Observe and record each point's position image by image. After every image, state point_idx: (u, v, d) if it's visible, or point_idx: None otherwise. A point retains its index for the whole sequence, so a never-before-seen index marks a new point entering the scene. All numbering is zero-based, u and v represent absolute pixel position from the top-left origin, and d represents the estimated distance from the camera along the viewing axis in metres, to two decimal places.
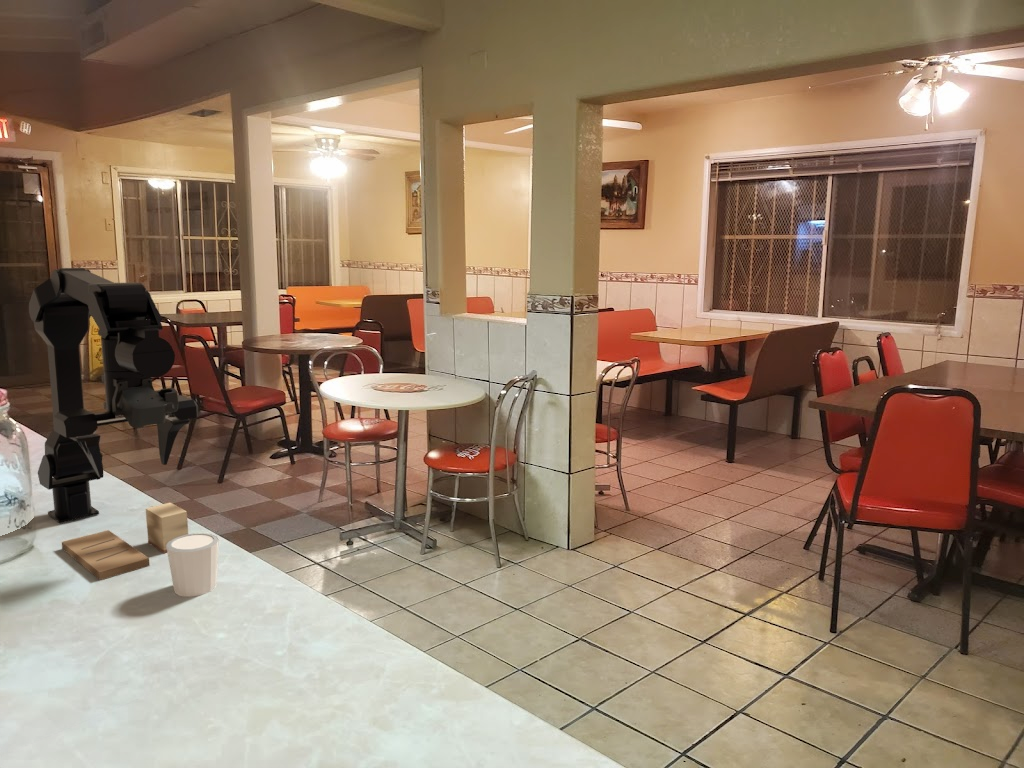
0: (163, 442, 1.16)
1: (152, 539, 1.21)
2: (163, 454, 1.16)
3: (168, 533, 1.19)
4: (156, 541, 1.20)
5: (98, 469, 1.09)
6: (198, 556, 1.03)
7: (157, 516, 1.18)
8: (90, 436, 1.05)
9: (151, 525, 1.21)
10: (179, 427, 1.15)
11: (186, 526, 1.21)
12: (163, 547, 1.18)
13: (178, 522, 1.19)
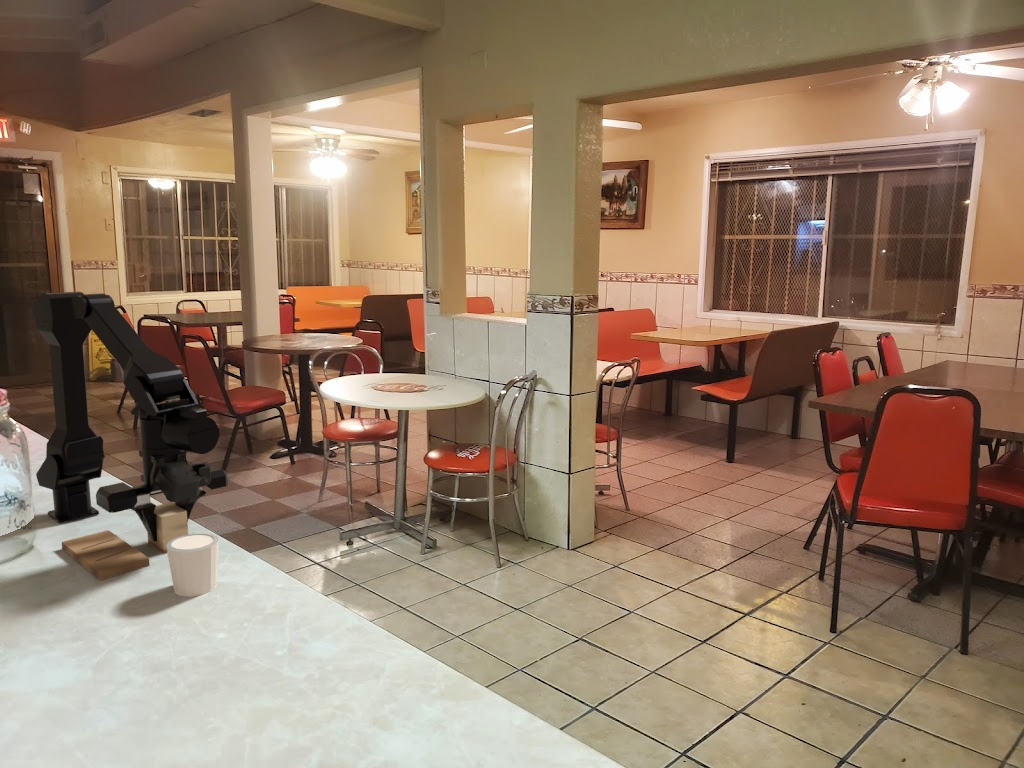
0: None
1: None
2: None
3: (168, 533, 1.19)
4: (156, 541, 1.20)
5: (152, 534, 1.19)
6: (198, 556, 1.03)
7: (157, 516, 1.18)
8: (147, 506, 1.16)
9: None
10: (195, 499, 1.22)
11: (186, 526, 1.21)
12: (163, 547, 1.18)
13: (178, 522, 1.19)
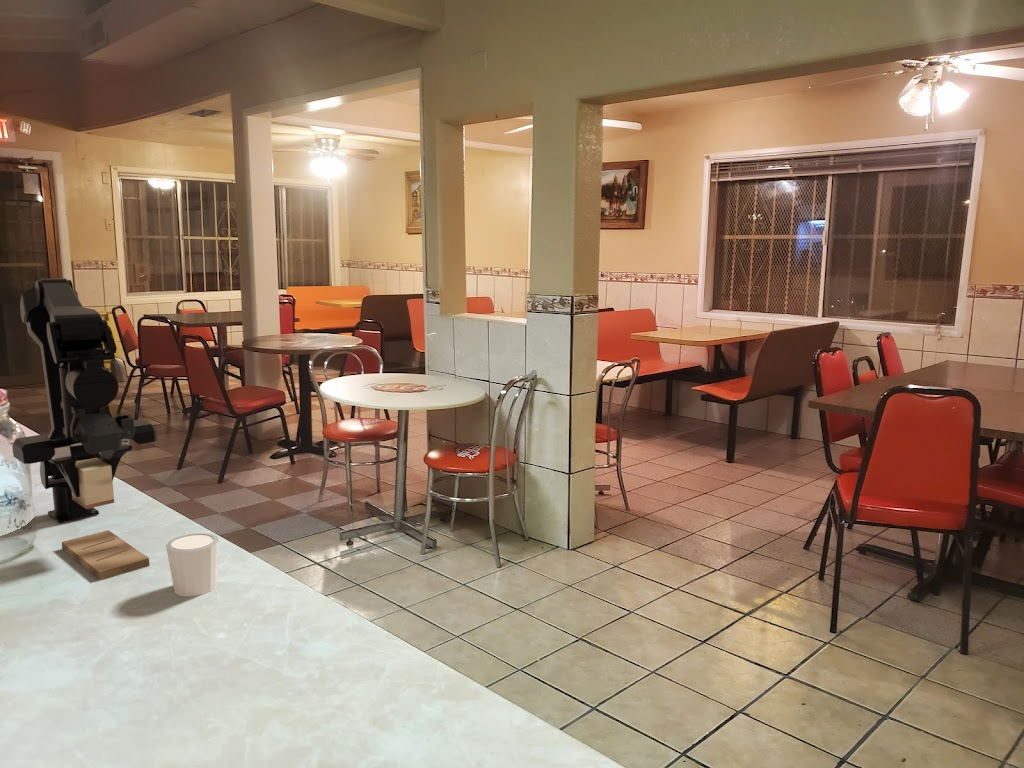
0: None
1: None
2: None
3: (91, 487, 1.14)
4: None
5: (74, 489, 1.14)
6: (198, 556, 1.03)
7: (79, 470, 1.14)
8: (66, 458, 1.11)
9: None
10: (121, 454, 1.17)
11: (111, 481, 1.16)
12: (85, 502, 1.14)
13: (101, 476, 1.15)
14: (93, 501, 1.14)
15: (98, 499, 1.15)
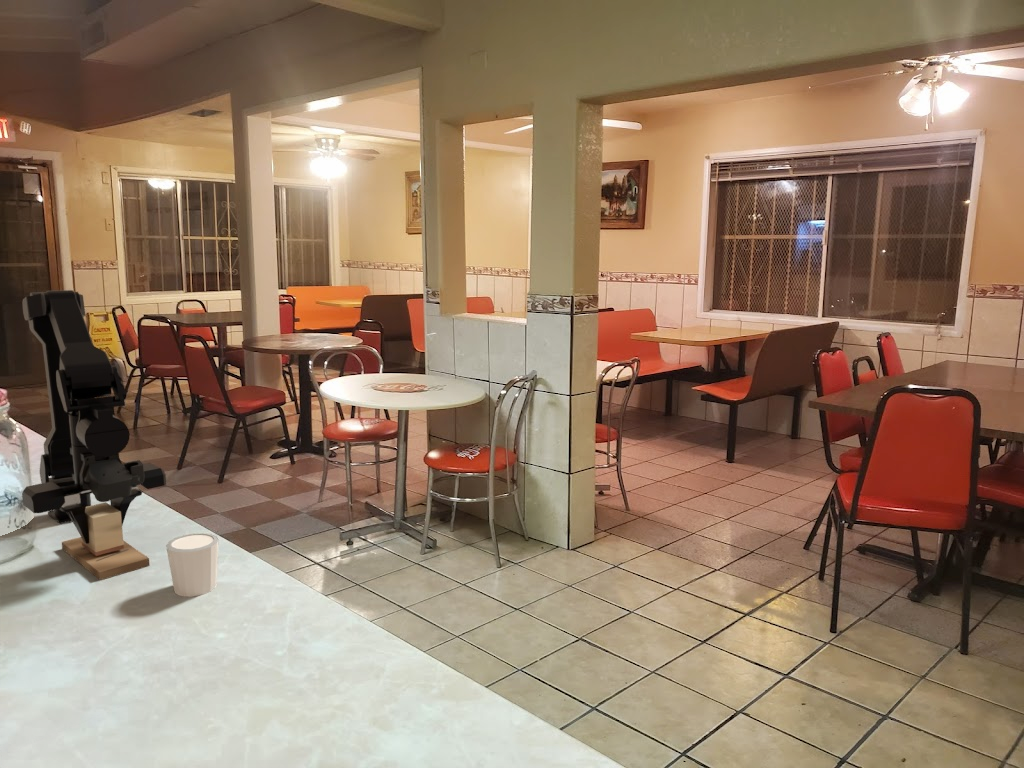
0: None
1: None
2: None
3: (101, 534, 1.13)
4: (88, 543, 1.15)
5: (84, 536, 1.14)
6: (198, 556, 1.03)
7: (89, 516, 1.13)
8: (76, 506, 1.11)
9: None
10: (131, 499, 1.17)
11: (120, 527, 1.15)
12: (95, 549, 1.13)
13: (111, 523, 1.14)
14: (103, 548, 1.14)
15: (108, 545, 1.14)
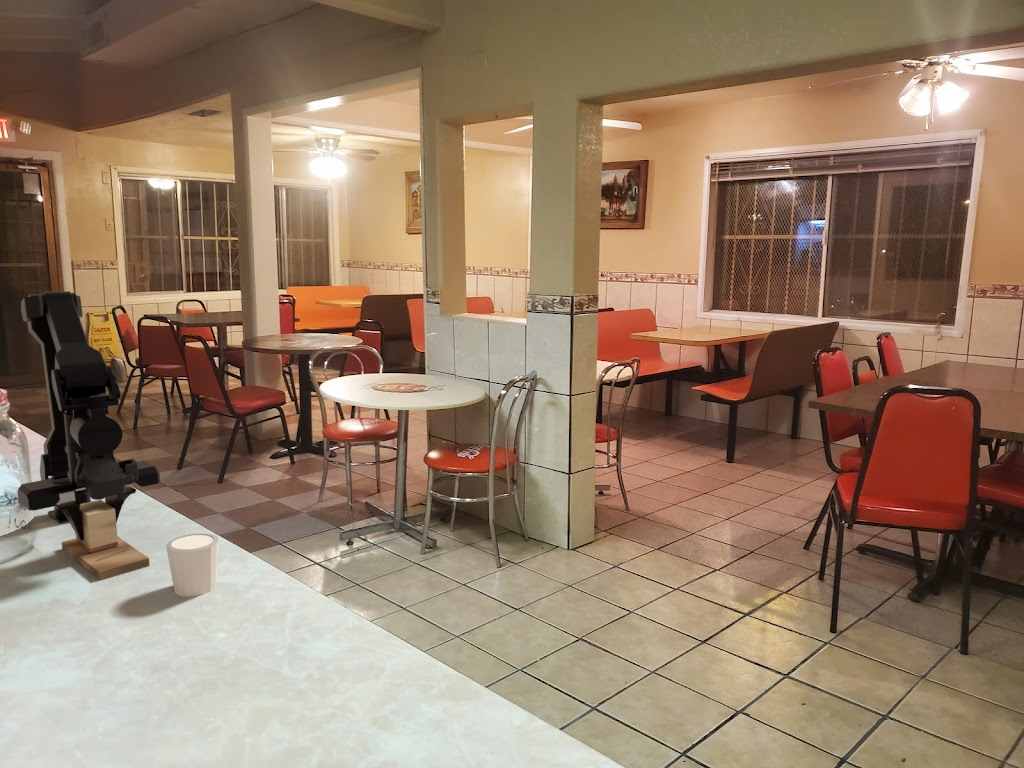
0: None
1: None
2: None
3: (95, 531, 1.15)
4: None
5: (79, 533, 1.15)
6: (198, 556, 1.03)
7: (83, 514, 1.15)
8: (71, 503, 1.12)
9: None
10: (125, 497, 1.18)
11: (114, 524, 1.17)
12: (89, 546, 1.15)
13: (105, 520, 1.16)
14: (97, 544, 1.15)
15: (102, 542, 1.16)
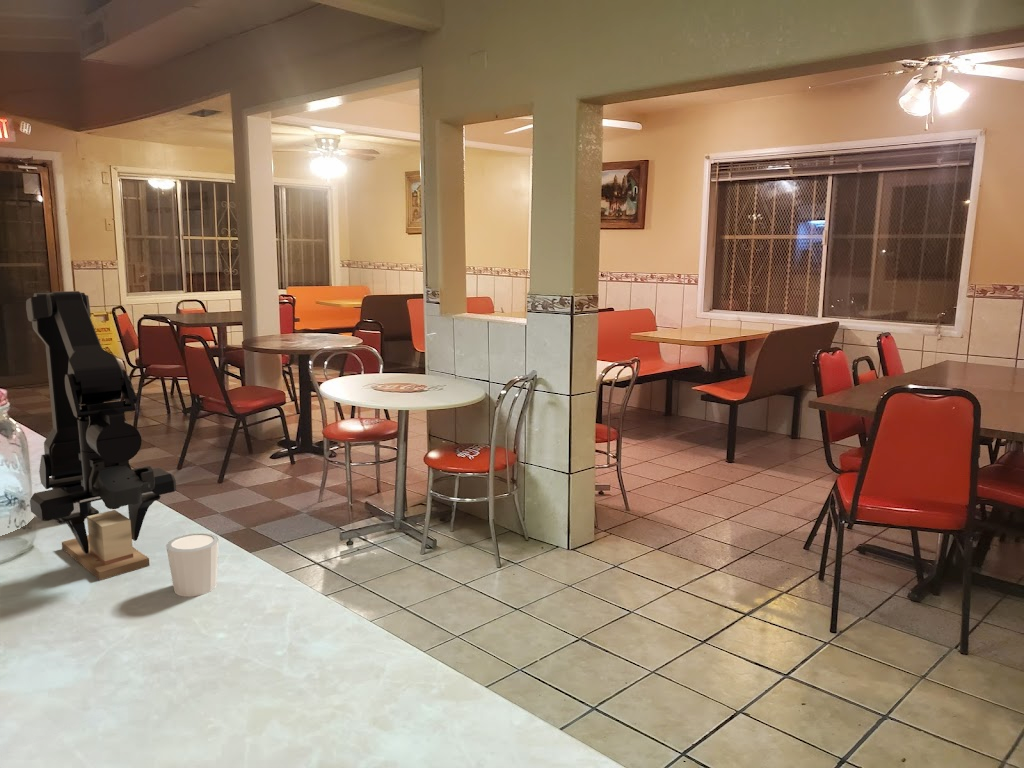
0: (133, 518, 1.16)
1: (93, 549, 1.14)
2: (133, 530, 1.16)
3: (110, 543, 1.11)
4: (97, 551, 1.12)
5: (83, 545, 1.11)
6: (198, 556, 1.03)
7: (98, 525, 1.11)
8: (75, 515, 1.07)
9: (92, 534, 1.13)
10: (149, 503, 1.15)
11: (130, 535, 1.13)
12: (104, 558, 1.11)
13: (120, 531, 1.12)
14: (112, 557, 1.12)
15: (117, 554, 1.12)
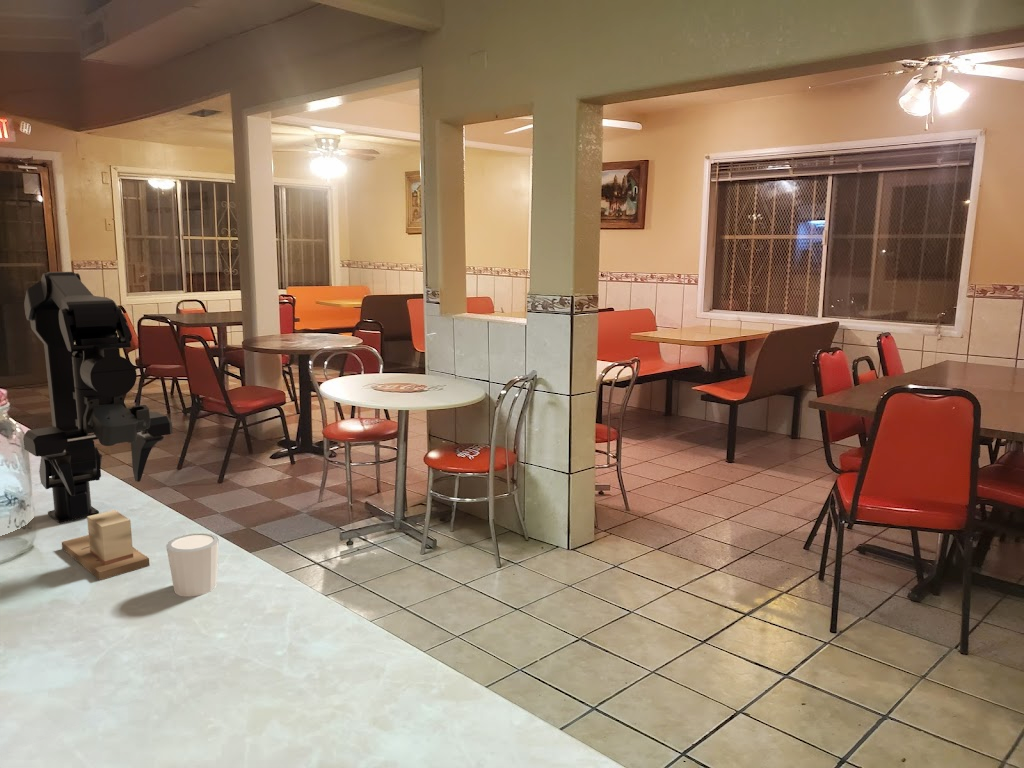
0: (136, 459, 1.15)
1: (93, 549, 1.14)
2: (136, 471, 1.15)
3: (110, 543, 1.11)
4: (97, 551, 1.12)
5: (69, 487, 1.08)
6: (198, 556, 1.03)
7: (98, 525, 1.11)
8: (60, 454, 1.05)
9: (92, 534, 1.13)
10: (152, 444, 1.15)
11: (130, 535, 1.13)
12: (104, 558, 1.11)
13: (120, 531, 1.12)
14: (112, 557, 1.12)
15: (117, 554, 1.12)
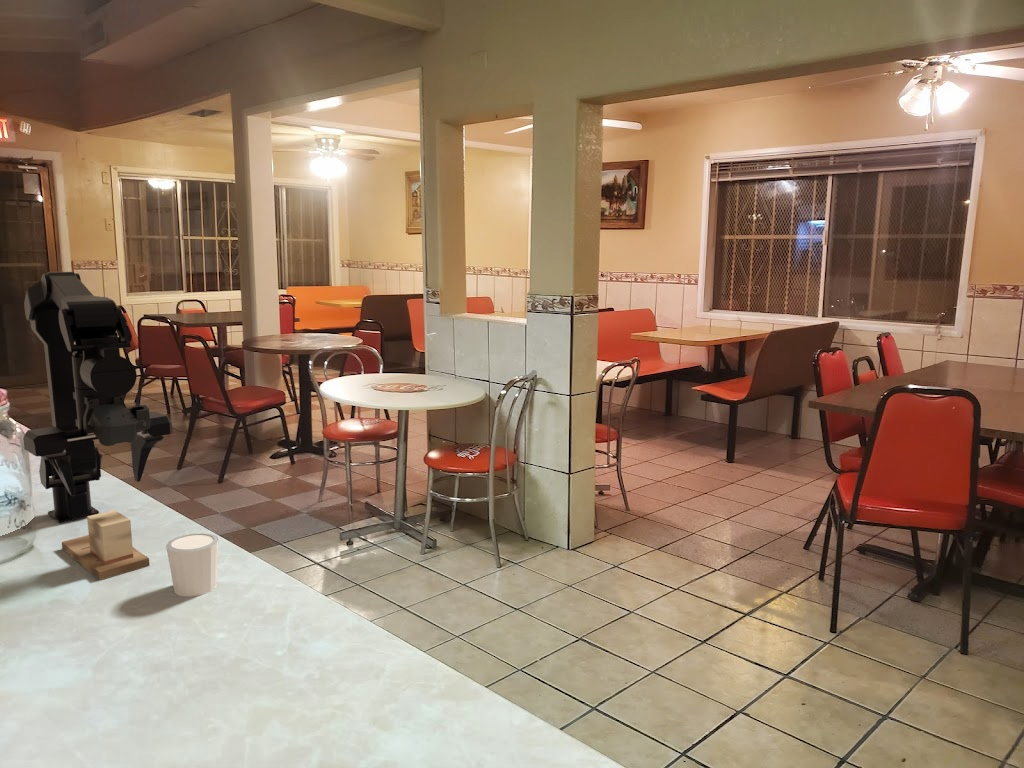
0: (136, 459, 1.15)
1: (93, 549, 1.14)
2: (136, 471, 1.15)
3: (110, 543, 1.11)
4: (97, 551, 1.12)
5: (69, 487, 1.08)
6: (198, 556, 1.03)
7: (98, 525, 1.11)
8: (60, 454, 1.05)
9: (92, 534, 1.13)
10: (152, 444, 1.15)
11: (130, 535, 1.13)
12: (104, 558, 1.11)
13: (120, 531, 1.12)
14: (112, 557, 1.12)
15: (117, 554, 1.12)
